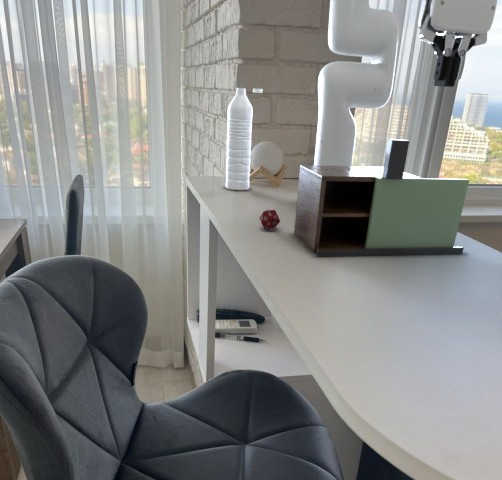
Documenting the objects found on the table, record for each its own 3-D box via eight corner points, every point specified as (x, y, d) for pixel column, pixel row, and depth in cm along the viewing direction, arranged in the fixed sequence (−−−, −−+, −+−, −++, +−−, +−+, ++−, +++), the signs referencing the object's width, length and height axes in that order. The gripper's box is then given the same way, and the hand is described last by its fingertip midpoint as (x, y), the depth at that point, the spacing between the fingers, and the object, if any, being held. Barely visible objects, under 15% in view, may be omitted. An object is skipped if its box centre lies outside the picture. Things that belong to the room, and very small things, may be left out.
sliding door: (364, 250, 90) (381, 138, 81) (450, 249, 93) (475, 142, 85) (368, 253, 88) (386, 139, 80) (455, 252, 92) (481, 143, 84)
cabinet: (293, 234, 98) (300, 165, 93) (423, 233, 104) (436, 168, 99) (317, 256, 86) (326, 178, 80) (462, 254, 92) (480, 180, 86)
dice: (261, 225, 103) (262, 206, 102) (282, 228, 102) (284, 208, 100) (255, 229, 100) (256, 209, 98) (276, 233, 99) (278, 212, 97)
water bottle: (224, 189, 136) (227, 86, 125) (226, 185, 142) (229, 86, 131) (256, 191, 136) (262, 88, 125) (257, 187, 142) (262, 88, 131)
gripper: (501, -48, 76) (471, 88, 84) (410, -60, 72) (388, 83, 80) (537, -60, 69) (500, 89, 77) (438, -73, 66) (411, 84, 74)
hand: (443, 86), depth 79 cm, fingers closed
